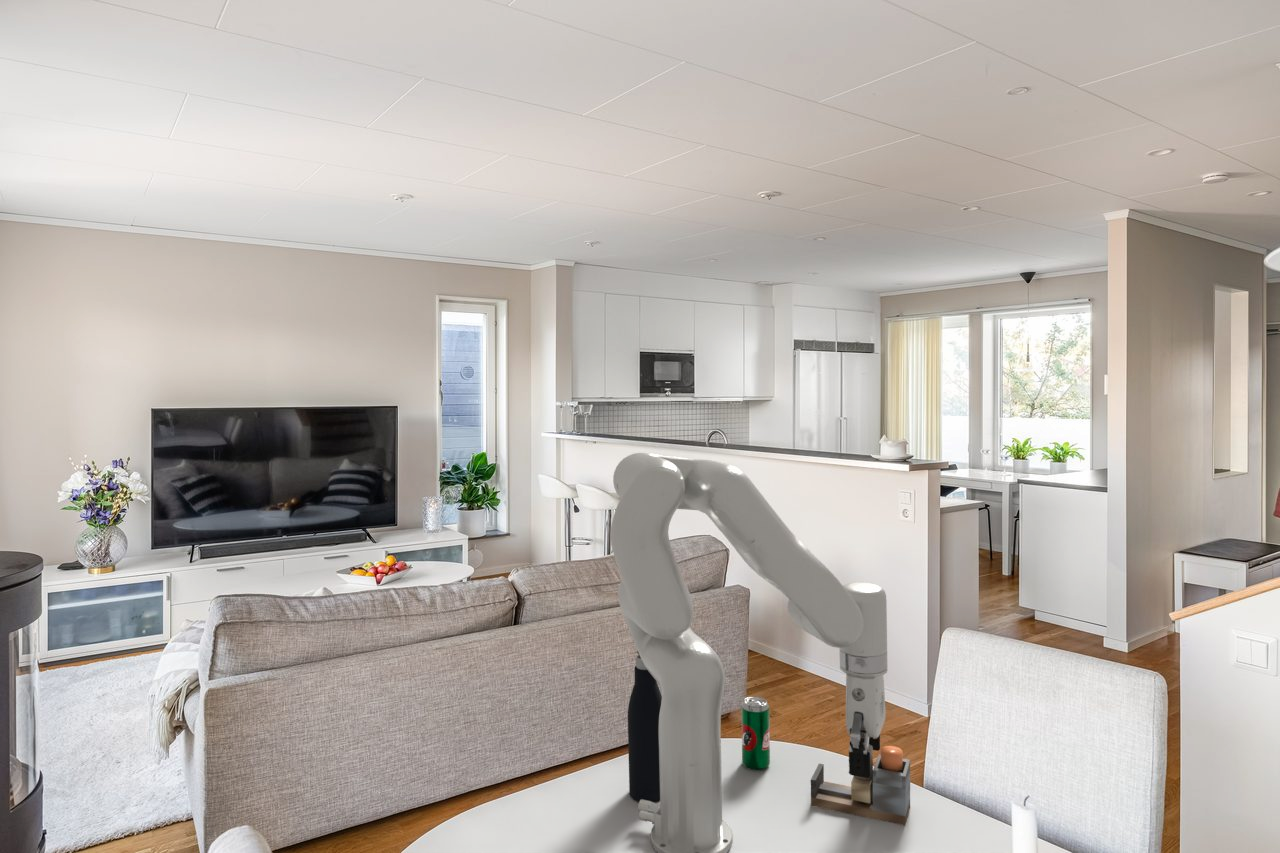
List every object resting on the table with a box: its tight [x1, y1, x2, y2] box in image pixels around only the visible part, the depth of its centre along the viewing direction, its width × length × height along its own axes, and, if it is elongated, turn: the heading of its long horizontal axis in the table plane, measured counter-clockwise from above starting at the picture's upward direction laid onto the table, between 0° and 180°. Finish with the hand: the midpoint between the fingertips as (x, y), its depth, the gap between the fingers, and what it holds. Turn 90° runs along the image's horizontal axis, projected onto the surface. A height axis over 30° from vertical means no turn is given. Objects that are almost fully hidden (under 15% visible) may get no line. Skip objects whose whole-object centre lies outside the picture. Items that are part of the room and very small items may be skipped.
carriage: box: [850, 743, 874, 803], centre depth 132 cm, size 3×5×8 cm, turn 155°
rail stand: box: [810, 753, 911, 827], centre depth 133 cm, size 15×6×8 cm, turn 65°
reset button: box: [880, 745, 904, 771], centre depth 130 cm, size 3×3×3 cm
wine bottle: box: [627, 640, 662, 803], centre depth 138 cm, size 6×6×30 cm
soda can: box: [741, 696, 771, 771], centre depth 147 cm, size 5×5×12 cm
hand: (865, 761), depth 132 cm, fingers open, 9 cm apart
